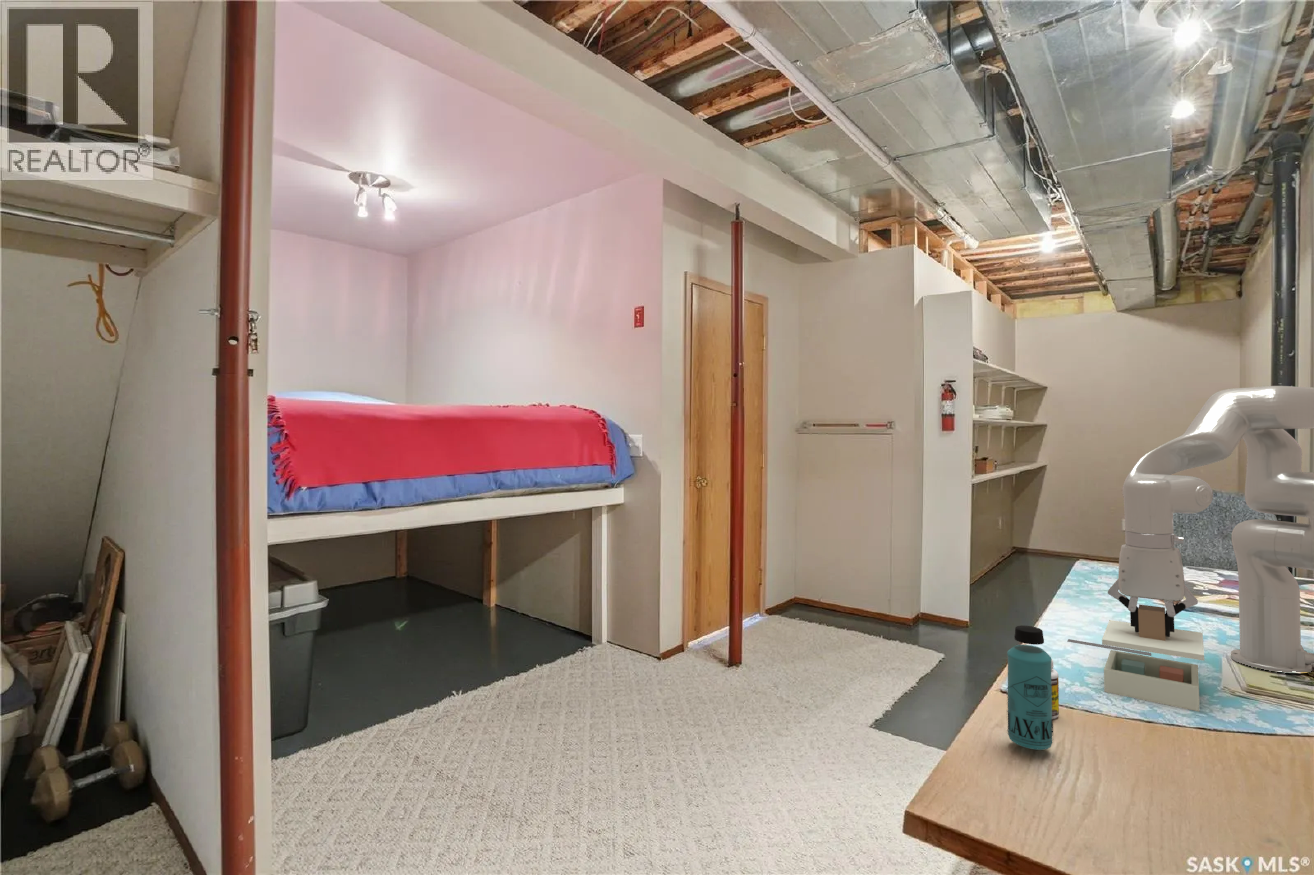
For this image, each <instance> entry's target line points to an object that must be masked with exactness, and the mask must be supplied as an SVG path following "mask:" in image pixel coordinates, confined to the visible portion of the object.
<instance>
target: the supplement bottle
mask: <svg viewBox="0 0 1314 875" xmlns="http://www.w3.org/2000/svg"><path fill="white" fill-rule="evenodd" d="M1059 682H1060V681H1059V672H1058V671H1057V670H1056V669H1055V668H1054V660H1053V659H1052V662H1051V685H1052V690H1053V691H1052V706H1053V707H1052V720H1055V719H1057V718H1058V716H1060V701H1059V699H1060V693H1059V692H1060V691H1059V688H1060V687H1059V685H1060V684H1059Z"/></svg>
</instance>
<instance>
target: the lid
mask: <svg viewBox="0 0 1314 875" xmlns="http://www.w3.org/2000/svg"><path fill="white" fill-rule="evenodd" d="M1165 614H1166V607H1163V606H1156V605H1155V606H1154V605H1146V604H1139V605H1138V619H1139V632H1135V627H1133V626H1131V622H1128V621H1127V622H1126V621H1122V620H1121V621H1120V620H1119V621H1118V620H1113V619H1108V623H1107V625H1106V628H1105V631H1104V633H1103V636H1102V637H1101V645H1107V646H1113V647H1119V648H1125V649H1131V650H1137V651H1143V652H1149V653H1151V654H1153V653H1154V654H1160V655H1166V656H1173V657H1180V658H1185V659H1191V660H1197V661H1198V660H1199V661H1202V662H1204V661H1205V651H1204V650H1205V649H1204V636H1203V634H1204V633H1203V632H1201V631H1192V630H1186V629H1179V628H1174V632H1170V637H1166V636H1165Z"/></svg>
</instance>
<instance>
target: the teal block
mask: <svg viewBox="0 0 1314 875" xmlns="http://www.w3.org/2000/svg"><path fill="white" fill-rule="evenodd" d="M1121 668H1122V671H1124V672H1129V673H1135V674H1140V675H1145V663H1143V662H1138V661H1132V660H1127V659H1123V660H1122V664H1121Z"/></svg>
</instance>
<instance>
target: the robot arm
mask: <svg viewBox="0 0 1314 875" xmlns="http://www.w3.org/2000/svg"><path fill="white" fill-rule="evenodd" d="M1296 429H1298V430H1300V429H1301V430H1302V429H1304V430H1306V429H1307V430H1311V429H1314V386H1313V387H1311V386H1290V385H1267V386H1265V385H1263V386H1251V387H1237V388H1234V387H1233V388H1226V389H1222V390H1218V391H1217V392H1215V393H1213V394H1212V395H1210V396H1209V398H1208V399H1207V400H1206V401H1205V402H1204V404H1203V406H1201V409H1200V410H1199V411H1198V413H1197V414H1196V416H1195V417H1194V418H1193V420H1192V421H1191V423H1190V424H1189V425H1188V427H1187V428H1186V430H1185V432H1184V433H1182V435H1179V436H1178V437H1175V438H1174V439H1173V438H1172V439H1171V440H1169V441H1167V442H1165V443H1163V444H1161V445H1159V446H1157V447H1156V448H1154V449H1152V450H1150V451H1149V452H1147V453H1146V454H1144V455H1143V456H1141V457H1140V458H1139V459H1138V460H1137V461H1136V462H1135V464H1134V466H1132V468H1131V470H1130V471H1129V473H1128V474H1127V476H1126V478H1125V480H1124V482H1123V485H1122V490H1121V491H1122V493H1121V494H1122V497H1123V509H1124V510H1123V511H1124V512H1123V514H1124V535H1125V536H1124V538H1125V539H1124V541H1125V544H1121V546H1120V551H1119V558H1118V574H1117V575H1118V576H1117V579H1116V580H1115V582H1114V583H1113V584H1112V585H1111V586H1110V587H1109V589H1107V594H1108V595H1110V596H1111V597H1112V598H1114V599H1115V600H1117V601H1119V602H1120V603H1121V604H1122V605H1123V606H1124V607H1125V608H1126V609H1127V610H1128V611H1129V614H1130V615H1129V616H1130V623H1131V626H1133V627H1135V632H1139V619H1138V608H1139V606H1138V600H1139V599H1147V600H1149V599H1150V600H1156V601H1163V602H1164V605H1165V636H1166V637H1170V632H1174V629H1175V617H1176V616H1177V615H1178V614H1179V613H1181V612H1182V611H1184V610H1185V609H1187V608H1188V609H1189V608H1190V607H1193V606H1196V605H1198V603H1199V600H1198V599H1197V597H1196V596H1195V595H1194V594H1193V593H1192V591H1191V590H1190V589H1189V587H1187V585H1186V584H1185V574H1184V565H1183V558H1182V555H1181V552H1180V549H1179V548H1178V547H1175V546H1177V545H1179V544H1182V545H1184V544H1185V543H1184V536H1179V535H1176V534H1174V532H1175V531H1174V514H1188V515H1190V514H1193V515H1194V514H1197V513H1200V512H1203V511H1205V510H1206V509H1207V508H1208V507H1210V505H1211V503H1212V501H1213V497H1214V494H1213V489H1212V487H1211V485H1210V484H1209V483H1208V482H1207V481H1205V480H1204V479H1202V478H1199V477H1196V476H1191V475H1179V474H1178V475H1177V474H1176V473H1179V472H1182V471H1187V470H1189V469H1195V468H1198V467H1199V468H1200V467H1205V466H1208V465H1210V464H1214V463H1218V462H1221V461H1224V460H1226V459H1228V458H1229V457H1230V456H1231V455H1232V454H1233V452H1234V451H1235V449H1236V448H1237V446H1238V444H1239V443H1240V441H1241V440H1242V439H1243V442H1244V444H1245V447H1246V450H1247V453H1246V454H1247V455H1246V456H1247V457H1246V459H1247V460H1246V469H1245V470H1246V471H1245V473H1246V474H1245V485H1244V500H1245V503H1246V505H1247V507H1248V508H1249V509H1250V510H1252V511H1255V512H1258V513H1263V514H1269V515H1279V516H1291V517H1299V518H1300V517H1302V518H1308V519H1309V523H1302V522H1293V521H1292V522H1291V521H1284V520H1282V521H1281V520H1272V519H1262V518H1261V519H1259V518H1258V519H1257V518H1256V519H1255V518H1254V519H1247V520H1244V521H1241V522H1239V523H1238V524H1236V525H1234V528H1233V529H1232V532H1231V535H1230V536H1231V545H1232V548H1233V552H1234V556H1235V559H1236V566H1237V576H1238V614H1239V615H1238V617H1239V618H1238V620H1239V621H1238V622H1239V623H1238V624H1239V649H1234V650H1232V651H1230V658H1231V659H1232V660H1233V661H1235V662H1236V663H1238V662H1239V664H1241V663H1242V664H1241V665H1243V664H1245V665H1244V666H1246V665H1248V666H1247V667H1249V666H1251V667H1250V668H1253V667H1257V668H1261V669H1264V670H1263V671H1265V670H1269V671H1268V672H1271V671H1282V672H1292V671H1296V672H1310V673H1312V672H1313V666H1312V664H1314V652H1308V651H1307V650H1304V647H1303V646H1302V643H1301V642H1302V638H1301V637H1302V636H1301V632H1302V631H1301V590H1300V589H1301V588H1300V586H1299V583H1298V581H1297V579H1296V578H1295V576H1294V575H1293V574H1292V573H1291V572H1290V570H1289V569H1288V567H1289V568H1295V569H1302V570H1310V571H1314V472H1312V471H1311V472H1306V471H1302V463H1303V462H1302V460H1303V457H1302V456H1303V450H1302V447H1301V445H1300V444H1299V443H1298V441H1297V440H1296V439H1295V438H1294V437H1293V436H1292V435H1291V434H1290V433H1289V432H1288V431H1287V430H1296ZM1128 597H1130V598H1128ZM1184 598H1185V599H1184ZM1174 602H1177V603H1175V604H1174ZM1257 668H1256V669H1257ZM1261 669H1260V670H1261ZM1311 671H1312V672H1311Z"/></svg>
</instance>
